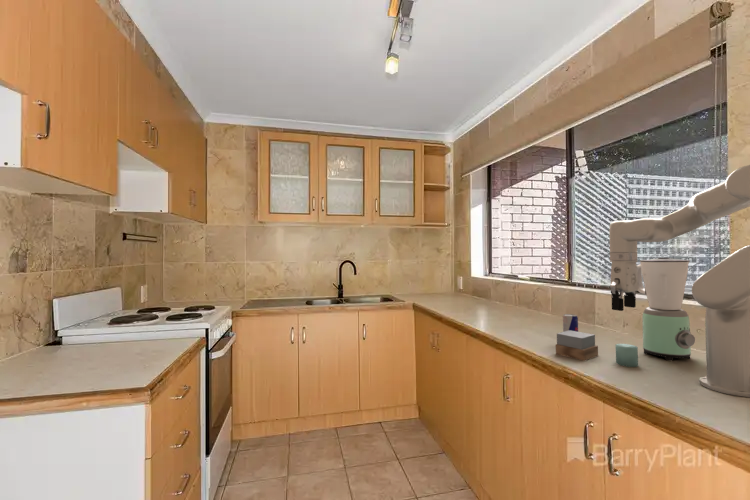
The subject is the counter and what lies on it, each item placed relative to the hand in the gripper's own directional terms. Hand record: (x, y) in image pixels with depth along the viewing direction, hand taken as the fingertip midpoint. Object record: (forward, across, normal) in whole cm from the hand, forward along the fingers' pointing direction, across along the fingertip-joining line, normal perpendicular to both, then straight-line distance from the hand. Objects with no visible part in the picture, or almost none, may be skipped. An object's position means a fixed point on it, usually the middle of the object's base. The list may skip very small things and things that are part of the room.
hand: (623, 308), depth 116 cm
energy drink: (+19, +10, +22) cm, 31 cm away
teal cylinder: (+18, 0, -1) cm, 18 cm away
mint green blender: (+18, +21, -5) cm, 28 cm away
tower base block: (+19, -2, +14) cm, 24 cm away
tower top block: (+15, -2, +15) cm, 21 cm away
